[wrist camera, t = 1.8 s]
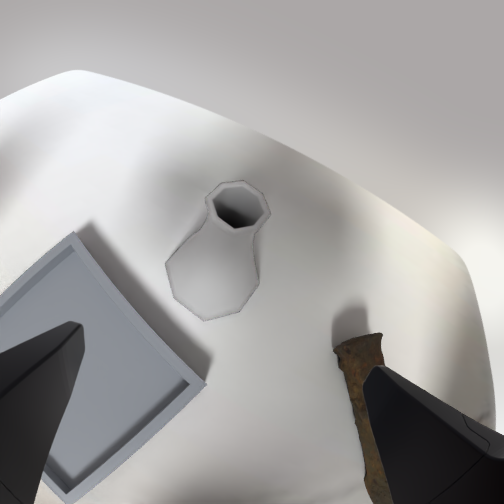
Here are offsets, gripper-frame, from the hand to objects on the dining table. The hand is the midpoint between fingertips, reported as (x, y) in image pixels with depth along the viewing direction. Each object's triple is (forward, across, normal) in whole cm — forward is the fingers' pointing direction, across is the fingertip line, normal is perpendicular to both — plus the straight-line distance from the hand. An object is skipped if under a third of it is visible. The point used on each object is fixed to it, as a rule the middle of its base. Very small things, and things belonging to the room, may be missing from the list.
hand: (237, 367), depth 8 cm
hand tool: (+7, -16, +13) cm, 21 cm away
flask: (+15, 0, +4) cm, 16 cm away
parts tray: (+8, +10, +11) cm, 17 cm away
